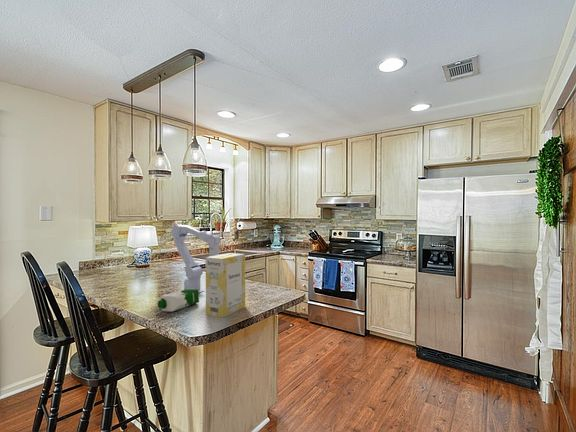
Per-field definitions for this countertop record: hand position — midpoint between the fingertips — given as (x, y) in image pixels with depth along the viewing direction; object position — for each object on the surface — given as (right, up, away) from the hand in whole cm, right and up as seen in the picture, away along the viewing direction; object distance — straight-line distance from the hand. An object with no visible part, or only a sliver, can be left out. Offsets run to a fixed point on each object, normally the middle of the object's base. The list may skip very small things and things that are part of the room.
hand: (214, 277), depth 181 cm
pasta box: (+13, -11, -30) cm, 34 cm away
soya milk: (-7, -7, -17) cm, 20 cm away
